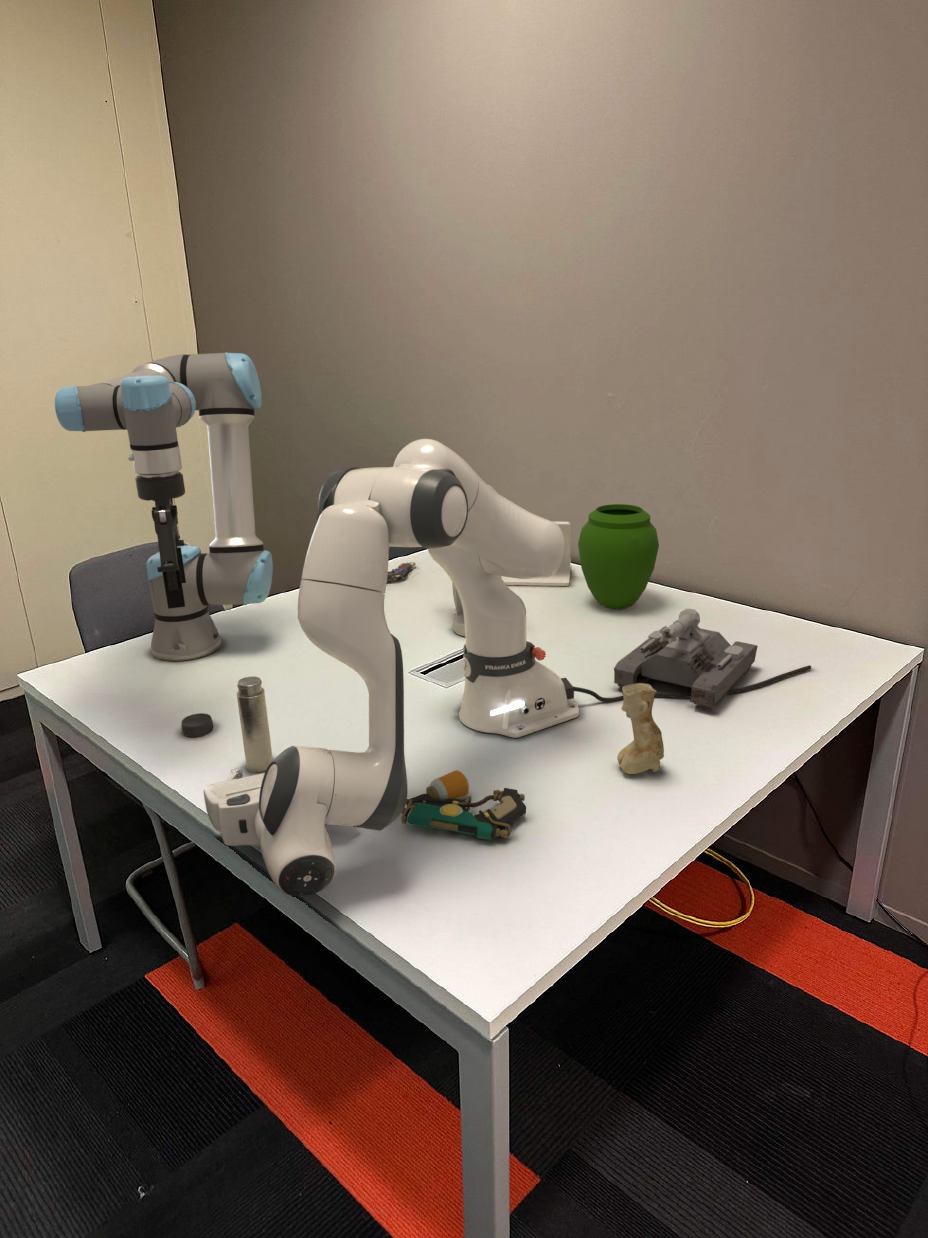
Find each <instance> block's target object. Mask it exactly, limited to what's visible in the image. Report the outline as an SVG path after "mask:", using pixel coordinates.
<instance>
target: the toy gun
mask: <svg viewBox="0 0 928 1238" xmlns="http://www.w3.org/2000/svg"><path fill="white" fill-rule="evenodd" d="M416 565H417V564H416V562H415V561H410V562H406V563H405V562H402V563H400V564H399V565H398V566H397V567H396V568H392V569H391V570H390V571H389V570H388V574H387V581H389V580H392V579H398V578H403V577H404V576H405V575H406V574H407V573H408V572H409V570H410V569H411V568H413V567H415V566H416Z"/></svg>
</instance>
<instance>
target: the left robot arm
mask: <svg viewBox="0 0 928 1238" xmlns="http://www.w3.org/2000/svg"><path fill="white" fill-rule="evenodd" d="M262 399H263V395H262V388H261V382H260V378H259V374H258V371H257V368H256V366H255V363H254V362H253V360H252V359H251V357H249V355H247V354H245V353H240V352H239V353H238V352H227V351H225V352H216V353H215V352H213V353H192V354H174V355H169V356H165V357H162V358H158V359H155V360H151V361H149V362H146V363H142V364H140V365H138V366H136V367H135V368H134V369H133V370H132V371H131V372H130V373H128V374H124V375H120V376H118V377H114V378H111V379H108V380H104V381H101V382H97V383H93V384H90V385H73V386H64V387H60V388H59V389H58V390H57V392H56V394H55V395H54V409H55V410H54V411H55V415H56V419H57V421H58V423H59V424H60V426H61V427H62V428H63V429H64V430H66V431H68V432H82V433H86V432H97V431H98V432H99V431H102V432H103V431H127V436H128V437H127V438H128V441H129V449H130V453H131V454H128V455H127V460H128V461H129V462H133V463H132V465H133V471H134V473H135V474H137V476H136V477H135V480H134V481H135V486H136V491H137V497H138V498H139V499H140V500H142V501H146V502H149V501H153V502H154V506H152V507H151V518H152V521H153V524H154V531H155V534H156V536H157V545H158V552H156V553H154V554H153V555H151V556H149V558H148V559H147V561H146V572H147V578H146V579H147V581H148V586H149V592H150V598H151V603H152V609H153V615H154V626H153V631H152V636H151V642H150V650H151V654H152V656H153V657H154V658H156V659H158V660H162V661H169V662H181V661H190V660H195V659H200V658H203V657H206V656H208V655H211V654H213V653H215V652H216V651H218V650H219V649H220V648H221V646H222V638H221V637H222V636H221V634H220V632H219V630H218V628H217V626H216V624H215V622H214V621H213V619H212V616H211V615H210V612H209V606H232V605H243V606H247V605H254V604H255V605H256V604H261V603H263V602H265V601H266V600H267V598H268V596H269V594H270V592H271V587H272V582H273V575H274V573H273V572H274V571H273V570H274V562H273V555H272V553H271V552H270V551H268V550H265V549H264V542H263V541H262V540H261V538H259V537H258V536H257V535H256V523H255V507H254V506H255V505H254V493H253V477H252V462H251V460H252V459H251V447H250V445H251V444H250V432H249V431H250V430H249V426H250V424H251V423H252V422H253V421H254V420H255V418H256V416H255V410H259V409H261V407H262V405H263V400H262ZM196 411H198V417H199V420H201V422H202V423H204V424H205V426H206V427H207V439H208V440H207V441H208V450H209V451H208V453H209V467H210V480H211V493H212V506H213V507H212V508H213V520H214V521H213V522H214V532H215V533H214V534H215V537H214V539H213V540H212V541H211V542H210V544H208V546H209V547H208V549H209V550H208V551H209V552H208V553H207V552H205V553H203V552H202V550H201V549H200V547H199V546H198V545H193V544H186V545H185V540H184V539H181V536H180V534H179V529H178V524H179V519H178V515H179V514H178V513H179V512H178V506H177V504H174V500H173V499H178V498H182V497H183V496H184V495H185V494H186V487H185V480H184V474H183V473H182V472H181V470H182V469H183V464H182V457H181V450H180V449H181V448H180V445H179V441H178V433H177V432H178V431H177V428H181V427H183V426H185V425H186V424H187V423H188V422H189V421H190V420H191V419H192V418H193V416H194V415H195V413H196Z"/></svg>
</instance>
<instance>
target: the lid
mask: <svg viewBox="0 0 928 1238" xmlns="http://www.w3.org/2000/svg"><path fill="white" fill-rule="evenodd" d="M180 726H181V731H182V735H184V736H185V737H188V738H199V737H204V736H206V735H209V733H211V732H213V730H214V721H213V717H212V715H210V714H209V713H204V712H200V713H193V714H189V715H187V716H185V717H183V719H182V720H181V724H180Z"/></svg>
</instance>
